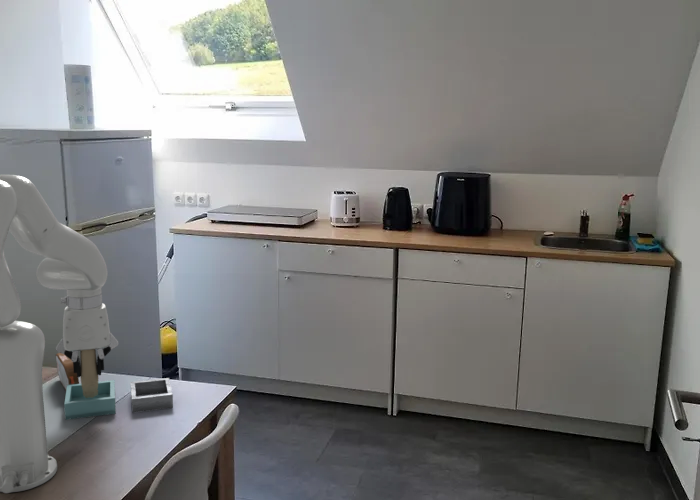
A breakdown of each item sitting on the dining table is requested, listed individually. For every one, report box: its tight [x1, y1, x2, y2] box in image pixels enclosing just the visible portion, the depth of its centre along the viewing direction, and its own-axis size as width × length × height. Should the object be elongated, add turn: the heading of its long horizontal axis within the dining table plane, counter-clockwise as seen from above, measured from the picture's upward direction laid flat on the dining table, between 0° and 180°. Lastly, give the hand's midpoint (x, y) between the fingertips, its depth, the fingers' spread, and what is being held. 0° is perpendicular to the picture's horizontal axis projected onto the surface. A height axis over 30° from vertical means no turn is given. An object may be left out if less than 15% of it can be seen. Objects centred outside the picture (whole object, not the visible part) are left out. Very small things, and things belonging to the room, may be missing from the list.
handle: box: [79, 349, 99, 398], centre depth 155 cm, size 5×6×15 cm
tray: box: [64, 379, 117, 421], centre depth 157 cm, size 11×11×4 cm
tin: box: [55, 352, 80, 391], centre depth 167 cm, size 15×3×8 cm, turn 35°
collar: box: [130, 377, 174, 414], centre depth 161 cm, size 10×9×4 cm
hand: (89, 373), depth 155 cm, fingers closed on handle, 4 cm apart
